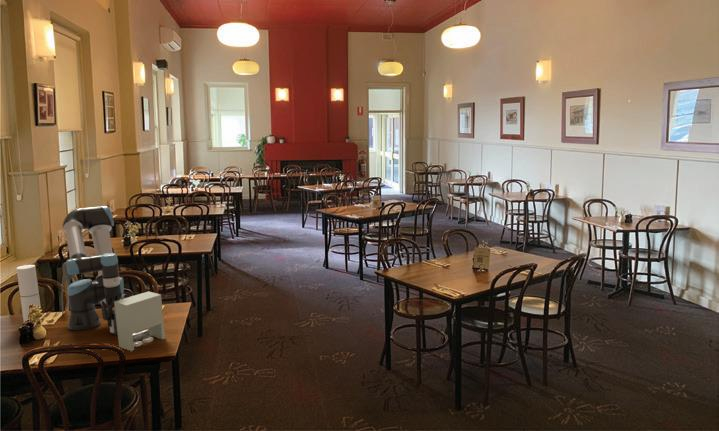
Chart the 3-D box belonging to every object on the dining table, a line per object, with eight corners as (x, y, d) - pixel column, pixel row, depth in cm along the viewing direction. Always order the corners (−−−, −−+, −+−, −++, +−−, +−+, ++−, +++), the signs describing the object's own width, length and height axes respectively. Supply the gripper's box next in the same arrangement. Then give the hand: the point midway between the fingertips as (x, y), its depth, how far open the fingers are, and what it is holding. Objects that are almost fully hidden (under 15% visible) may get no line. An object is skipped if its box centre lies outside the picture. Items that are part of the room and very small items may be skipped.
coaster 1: (129, 345, 274) (128, 343, 273) (138, 342, 277) (138, 340, 277) (134, 348, 271) (134, 345, 270) (144, 344, 274) (144, 342, 274)
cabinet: (119, 346, 272) (114, 301, 268) (152, 334, 286) (148, 291, 282) (131, 351, 266) (126, 305, 262) (165, 338, 280) (160, 294, 277)
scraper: (102, 336, 285) (99, 314, 283) (126, 328, 295) (124, 307, 293) (124, 344, 273) (122, 322, 271) (149, 335, 283) (147, 314, 281)
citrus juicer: (71, 319, 312) (65, 264, 306) (55, 318, 313) (48, 264, 308) (85, 312, 323) (79, 259, 317) (69, 311, 324) (62, 259, 319)
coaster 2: (140, 341, 278) (140, 339, 278) (149, 338, 282) (149, 336, 282) (146, 344, 275) (146, 341, 275) (155, 340, 279) (155, 338, 279)
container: (21, 321, 310) (14, 267, 305) (39, 317, 316) (32, 263, 311) (26, 325, 304) (19, 269, 299) (44, 321, 310) (37, 266, 305)
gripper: (99, 290, 276) (104, 337, 279) (132, 282, 289) (136, 327, 293) (91, 288, 280) (96, 334, 284) (123, 279, 293) (128, 324, 297)
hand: (116, 330), depth 288 cm, fingers closed on scraper, 4 cm apart
